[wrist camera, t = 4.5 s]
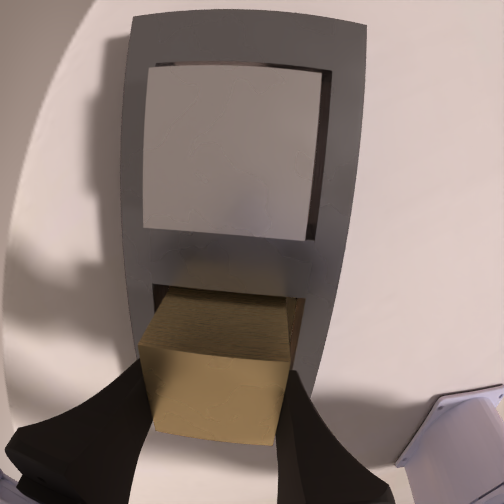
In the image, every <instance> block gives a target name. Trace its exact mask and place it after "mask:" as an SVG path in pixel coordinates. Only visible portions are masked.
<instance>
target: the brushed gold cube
mask: <svg viewBox="0 0 504 504" xmlns="http://www.w3.org/2000/svg"><path fill="white" fill-rule="evenodd" d="M138 350H139V356H140V361H141V366H142V372H143V377H144V382H145V387H146V391H147V396H148V400H149V405H150V409H151V413H152V418H153V422H154V426H155V430H156V431H159V432H164V433H169V434H174V435H180V436H186V437H192V438H199V439H206V440H213V441H221V442H230V443H241V444H253V445H269V446H273V442H274V437H275V433H276V429H277V424H278V420H279V416H280V411H281V407H282V402H283V398H284V393H285V388H286V383H287V379H288V374H289V369H290V364H291V358H290V345H289V332H288V319H287V307H286V297H283V296H271V295H259V294H248V293H237V292H226V291H216V290H206V289H197V288H188V287H179V286H171V287H170V289H169V290H168V292H167V294H166V295H165V297H164V299H163V301H162V302H161V304H160V306H159V307H158V309H157V311H156V313H155V314H154V316H153V318H152V320H151V322H150V323H149V325H148V327H147V329H146V330H145V332H144V334H143V336H142V338H141V339H140V341H139V343H138Z"/></svg>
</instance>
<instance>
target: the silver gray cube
mask: <svg viewBox="0 0 504 504" xmlns="http://www.w3.org/2000/svg"><path fill="white" fill-rule="evenodd" d="M321 76H322V73H316V72H308V71H300V70H291V69H281V68H269V67H255V66H232V65H189V66H166V67H151V68H149V72H148V82H147V94H146V107H145V124H144V147H143V228H155V229H168V230H181V231H194V232H206V233H218V234H230V235H242V236H254V237H265V238H276V239H288V240H299V241H305V236H306V229H307V221H308V213H309V204H310V196H311V187H312V178H313V169H314V159H315V149H316V139H317V128H318V116H319V104H320V91H321Z"/></svg>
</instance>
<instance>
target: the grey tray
mask: <svg viewBox="0 0 504 504" xmlns="http://www.w3.org/2000/svg"><path fill="white" fill-rule="evenodd" d="M366 42H367V25H364V24H359V23H355V22H350V21H345V20H339V19H334V18H328V17H322V16H315V15H308V14H300V13H291V12H280V11H267V10H244V9H211V10H189V11H176V12H165V13H156V14H148V15H141V16H134V17H133V21H132V27H131V33H130V40H129V48H128V55H127V64H126V73H125V83H124V95H123V109H122V128H121V218H122V237H123V252H124V264H125V275H126V285H127V294H128V303H129V311H130V318H131V325H132V332H133V338H134V345H135V351H136V356H137V360H138V359H139V358H140V356H139V350H138V343H139V341H140V339H141V338H142V336H143V334H144V332H145V330H146V329H147V327H148V325H149V323H150V322H151V320H152V318H153V316H154V314H155V313H156V311H157V309H158V307H159V306H160V304H161V302H162V301H163V299H164V297H165V295H166V294H167V292H168V290H169V285H170V286H179V287H188V288H197V289H206V290H216V291H226V292H237V293H248V294H259V295H271V296H283V297H296V298H297V302H296V308H295V315H294V321H293V327H292V333H291V338H290V344H289V345H290V358H291V364H290V369H289V370H296V371H297V372H298V373H299V376H300V378H301V381H302V383H303V386H304V388H305V390H306V392H307V394H308V396H309V398H310V397H311V394H312V390H313V387H314V383H315V380H316V376H317V372H318V369H319V365H320V361H321V357H322V353H323V349H324V345H325V341H326V337H327V333H328V329H329V325H330V320H331V316H332V311H333V307H334V302H335V298H336V293H337V288H338V283H339V278H340V273H341V268H342V263H343V257H344V252H345V246H346V241H347V235H348V229H349V223H350V216H351V210H352V203H353V196H354V189H355V182H356V174H357V166H358V157H359V148H360V139H361V128H362V117H363V104H364V90H365V71H366ZM189 65H232V66H255V67H269V68H281V69H291V70H300V71H308V72H316V73H322V76H321V82H322V86H321V99H320V112H319V124H318V135H317V146H316V156H315V166H314V175H313V184H312V193H311V201H310V210H309V218H308V224H307V229H306V236H305V241H299V240H288V239H276V238H265V237H254V236H242V235H230V234H218V233H206V232H194V231H181V230H168V229H155V228H143V147H144V124H145V107H146V94H147V82H148V72H149V68H151V67H166V66H189Z"/></svg>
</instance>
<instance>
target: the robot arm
mask: <svg viewBox="0 0 504 504" xmlns="http://www.w3.org/2000/svg"><path fill="white" fill-rule="evenodd" d="M503 396H504V385H502V386H498V387H493V388H488V389H483V390H477V391H472V392H466V393H460V394H454V395H447V396H442V397H440V398H439V399H438V400H437V401H436V403H435V405H434V407H433V408H432V410H431V411H430V413H429V415H428V416H427V418H426V420H425V421H424V423H423V424H422V426H421V427H420V429H419V430H418V432H417V433H416V435H415V436H414V438H413V439H412V441H411V442H410V444H409V445H408V446H407V448H406V449H405V451H404V452H403V453H402V455H401V456H400V457H399V459H398V460H397V461H396V463H395V466H396V467H397V468H399V467H405V470H406V473H407V477H408V480H409V484H410V487H411V491H412V495H413V498H414V502H415V504H504V422H503V420H502V418H501V416H500V415H499V413H498V412H497V410H496V407H497V405H498V404H499V403H500V401H501V399H502V398H503ZM152 422H153V418H152V413H151V409H150V405H149V400H148V396H147V391H146V387H145V382H144V377H143V372H142V366H141V361H140V358H139V359H138V360H137V361H135V362H134V363H133V364H132V365H131V366H130V367H129V368H128V369H127V370H126V371H124V372H123V373H122V374H121V375H120V376H119V377H118V378H116V379H115V380H114V381H113V382H112V383H110V384H109V385H108V386H106V387H105V388H104V389H103V390H101V391H100V392H99V393H97V394H96V395H94V396H93V397H91V398H90V399H88V400H87V401H85V402H84V403H82V404H80V405H79V406H77V407H75V408H73V409H71V410H69V411H67V412H65V413H63V414H60V415H58V416H56V417H53V418H51V419H48V420H45V421H42V422H39V423H36V424H32V425H28V426H24V427H20V428H18V429H17V431H16V432H15V433H14V435H13V437H12V438H11V440H10V441H9V443H8V444H7V446H6V447H5V453H6V455H7V457H8V458H9V459H10V461H11V462H12V463H13V464H14V465H15V467H16V468H17V469H18V470H19V471H20V472H21V473H22V477H21V478H20V480H19V482H17V481H15V480H14V479H12V478H10V477H9V476H7V475H5V474H4V473H3V472H2V470H1V469H0V504H128V502H129V496H130V491H131V486H132V482H133V477H134V473H135V469H136V465H137V461H138V457H139V454H140V451H141V448H142V446H143V443H144V441H145V438H146V436H147V434H148V431H149V429H150V426H151V424H152ZM275 435H276V447H277V459H278V497H277V504H395V500H394V496H393V494H392V491H391V489H390V487H389V484H387V483H386V482H384V481H383V480H381V479H380V478H378V477H377V476H375V475H374V474H373V473H371V472H370V471H369V470H368V469H366V468H365V467H364V466H363V465H362V464H360V463H359V462H358V461H357V460H356V459H355V458H354V457H353V456H352V455H351V454H350V453H349V452H348V451H347V450H346V449H345V448H344V447H343V446H342V445H341V443H340V442H339V441H338V440H337V439H336V438H335V436H334V435H333V434H332V433H331V431H330V430H329V428H328V427H327V426H326V424H325V423H324V421H323V420H322V418H321V417H320V415H319V414H318V412H317V410H316V409H315V407H314V405H313V403H312V401H311V400H310V398H309V396H308V394H307V392H306V390H305V388H304V386H303V383H302V381H301V378H300V376H299V373H298V372H297V371H296V370H289V374H288V379H287V383H286V388H285V393H284V398H283V402H282V407H281V411H280V416H279V420H278V424H277V429H276V433H275Z"/></svg>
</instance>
